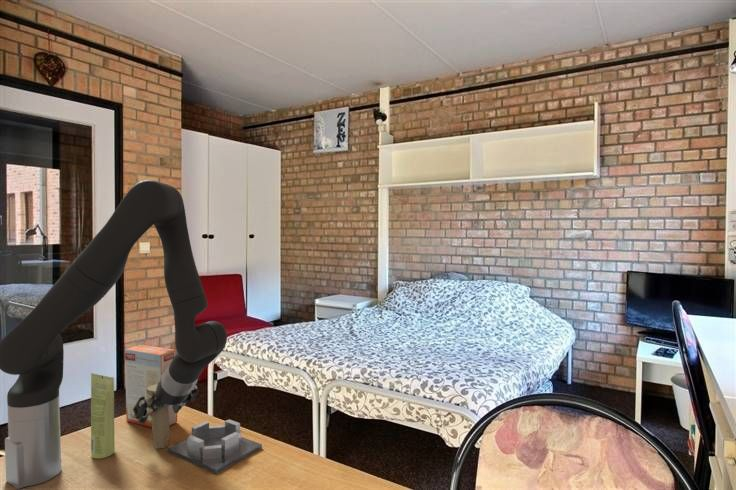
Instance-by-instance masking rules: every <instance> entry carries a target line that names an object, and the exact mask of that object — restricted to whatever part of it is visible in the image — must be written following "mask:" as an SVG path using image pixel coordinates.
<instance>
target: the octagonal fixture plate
mask: <svg viewBox="0 0 736 490" xmlns="http://www.w3.org/2000/svg"><path fill="white" fill-rule="evenodd" d="M261 449H263V445H262V443H259V442H256V441H254V440H251V439H248V438H246V437H243V436H242V429H241V423H240V422H238V421H235V420H232V419H227V420H225V421H224V424H220V425H219V424H218V425H217V424H216V425H210V422H209V421H203V422H200V423H199V424H197V425H194V426H192V427H191V434H189V436H188V437H187V439H185V440H183V441H180V442H178V443H176V444H173V445H171V446H169V447H167V448H166V450H167V453H168V454H171V455H173V456H175V457H177V458H180V459H182V460H184V461H186V462H188V463H190V464H192V465H195V466H197V467H199V468H201V469H204V470H206V471H208V472H210V473H213V474H215V475H218V474H219V473H221V472H222V471H224V470H226V469H228V468H229V467H231V466H233V465H236V464H237V463H238V462H240V461H242V460H244V459H246V458H247V457H250V456H251V455H253V454H255V453H256V452H258V451H259V450H261Z"/></svg>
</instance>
